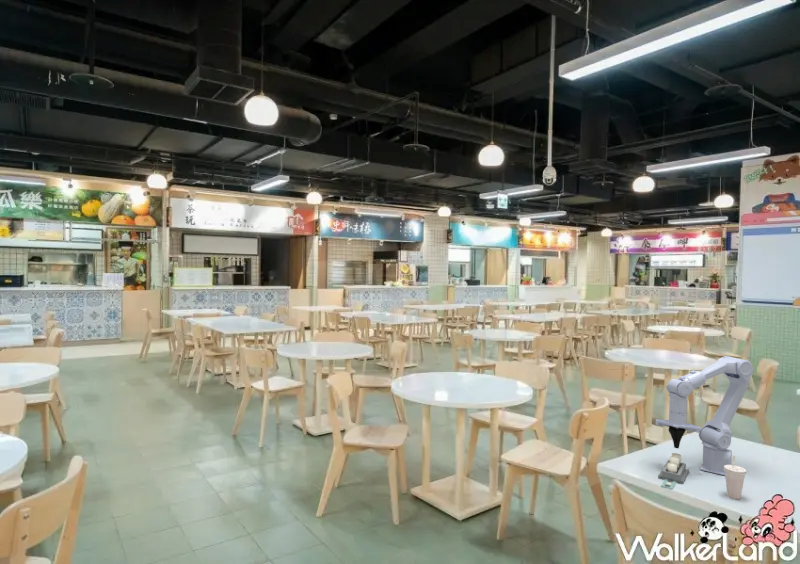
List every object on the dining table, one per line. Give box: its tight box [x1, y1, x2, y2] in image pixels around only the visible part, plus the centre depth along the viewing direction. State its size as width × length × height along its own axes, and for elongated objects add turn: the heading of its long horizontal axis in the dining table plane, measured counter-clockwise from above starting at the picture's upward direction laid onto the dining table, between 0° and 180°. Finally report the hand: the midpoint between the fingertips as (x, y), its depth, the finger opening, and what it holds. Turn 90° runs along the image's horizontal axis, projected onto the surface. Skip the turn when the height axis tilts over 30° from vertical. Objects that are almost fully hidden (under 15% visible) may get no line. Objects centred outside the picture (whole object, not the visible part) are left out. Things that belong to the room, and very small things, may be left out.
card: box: [660, 479, 677, 490], centre depth 177 cm, size 4×8×1 cm, turn 143°
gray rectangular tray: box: [657, 459, 690, 485], centre depth 185 cm, size 8×14×3 cm, turn 143°
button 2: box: [671, 452, 682, 466], centre depth 189 cm, size 3×3×4 cm
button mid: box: [669, 455, 679, 470], centre depth 185 cm, size 3×3×4 cm
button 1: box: [667, 463, 677, 474], centre depth 182 cm, size 3×3×4 cm
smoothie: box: [724, 454, 747, 500], centre depth 168 cm, size 6×6×14 cm
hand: (676, 447), depth 189 cm, fingers closed
